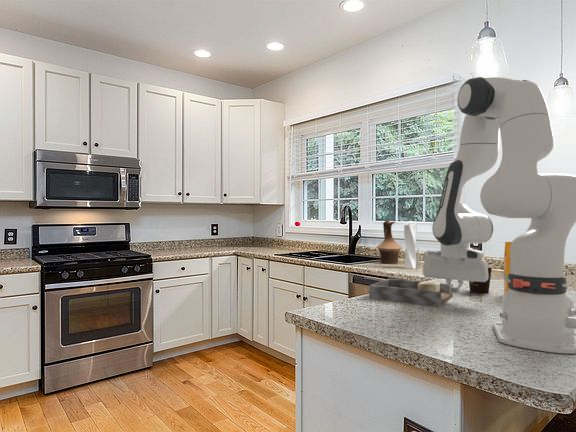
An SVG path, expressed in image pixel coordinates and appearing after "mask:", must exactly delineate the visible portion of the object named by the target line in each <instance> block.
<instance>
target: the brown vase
mask: <svg viewBox="0 0 576 432" xmlns="http://www.w3.org/2000/svg"><path fill="white" fill-rule="evenodd" d="M394 224H396V221H391V222H390V219H389V220H384V222H383V223H382V225H383V235H384V239H383V241H382V242H381V243H380V244H378V245H377V246H376V247H375V248H376V249H378V251H379V256H380V263H381V264H383V265H384V264H385V265H398V263H399V256H400V251H401V250H402V249H403V246H401V244H398V243H397V242H396V241H395V239H394V237H393V235H392V227H393V225H394Z"/></svg>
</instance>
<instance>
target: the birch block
mask: <svg viewBox="0 0 576 432" xmlns="http://www.w3.org/2000/svg"><path fill="white" fill-rule="evenodd" d="M440 283H441V282H433V283H431V281H422V282H421V283H419V284H418V290H426V291H435V292H440Z"/></svg>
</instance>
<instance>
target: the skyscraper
mask: <svg viewBox="0 0 576 432" xmlns="http://www.w3.org/2000/svg"><path fill="white" fill-rule="evenodd" d="M403 227H404V228H403V233H404V234H403V235H404V236H403V237H404V243H405V249H404V250H405V252H404V253H405V254H404V269H405V270H419V269H420V268H421V267H420V254H419V253H420V252H419V249H416V241H417V234H418V233H417V232H418V225H417V223H416V222H415V221H413V220H408V221H407V223H403ZM416 251H417V252H416Z"/></svg>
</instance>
